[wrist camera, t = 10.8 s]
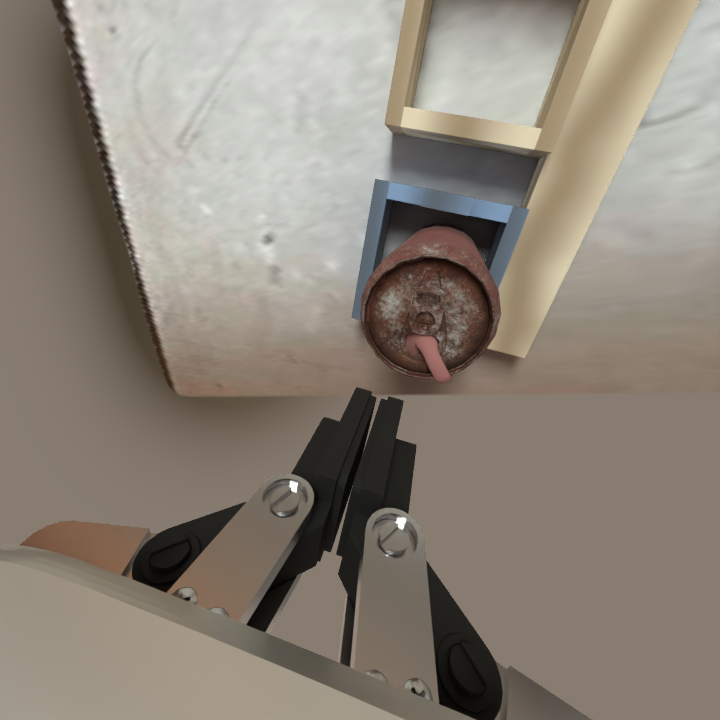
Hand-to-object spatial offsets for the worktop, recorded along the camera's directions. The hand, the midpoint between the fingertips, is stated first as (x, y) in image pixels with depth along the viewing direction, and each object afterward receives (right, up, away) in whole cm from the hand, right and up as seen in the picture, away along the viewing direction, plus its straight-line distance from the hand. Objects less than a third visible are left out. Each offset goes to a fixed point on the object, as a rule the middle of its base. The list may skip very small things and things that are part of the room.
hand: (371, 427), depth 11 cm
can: (+6, +10, +14) cm, 19 cm away
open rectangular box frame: (+8, +15, +11) cm, 20 cm away
